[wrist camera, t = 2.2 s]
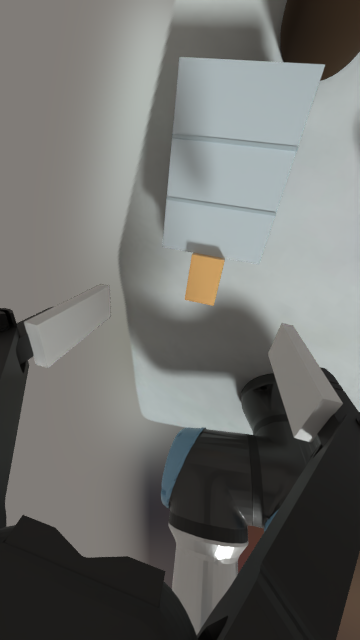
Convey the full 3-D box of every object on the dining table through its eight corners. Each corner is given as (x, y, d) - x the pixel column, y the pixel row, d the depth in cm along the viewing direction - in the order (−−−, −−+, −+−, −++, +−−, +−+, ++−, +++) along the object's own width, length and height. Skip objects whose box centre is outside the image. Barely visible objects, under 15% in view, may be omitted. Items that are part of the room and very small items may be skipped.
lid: (243, 302, 29) (245, 312, 25) (162, 285, 30) (154, 293, 27) (314, 81, 18) (334, 49, 15) (184, 73, 20) (175, 42, 16)
